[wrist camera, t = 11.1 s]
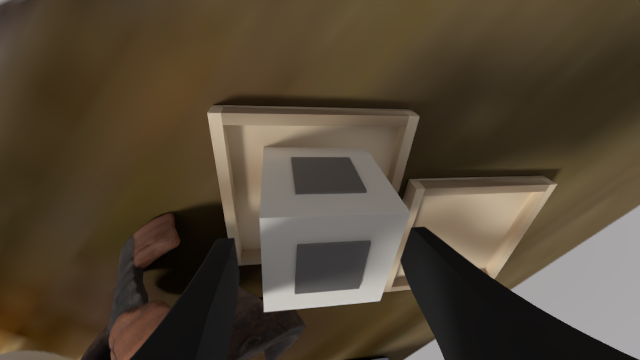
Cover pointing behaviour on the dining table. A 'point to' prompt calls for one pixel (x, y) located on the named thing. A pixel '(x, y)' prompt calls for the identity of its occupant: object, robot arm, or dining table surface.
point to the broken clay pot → (143, 317)
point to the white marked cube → (326, 227)
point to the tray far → (472, 217)
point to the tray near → (295, 131)
